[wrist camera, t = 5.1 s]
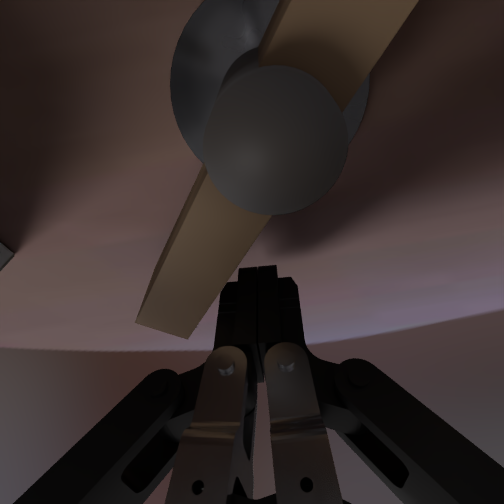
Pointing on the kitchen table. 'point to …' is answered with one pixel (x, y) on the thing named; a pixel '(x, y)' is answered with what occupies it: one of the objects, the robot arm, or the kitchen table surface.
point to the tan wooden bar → (268, 145)
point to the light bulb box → (5, 256)
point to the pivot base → (225, 63)
